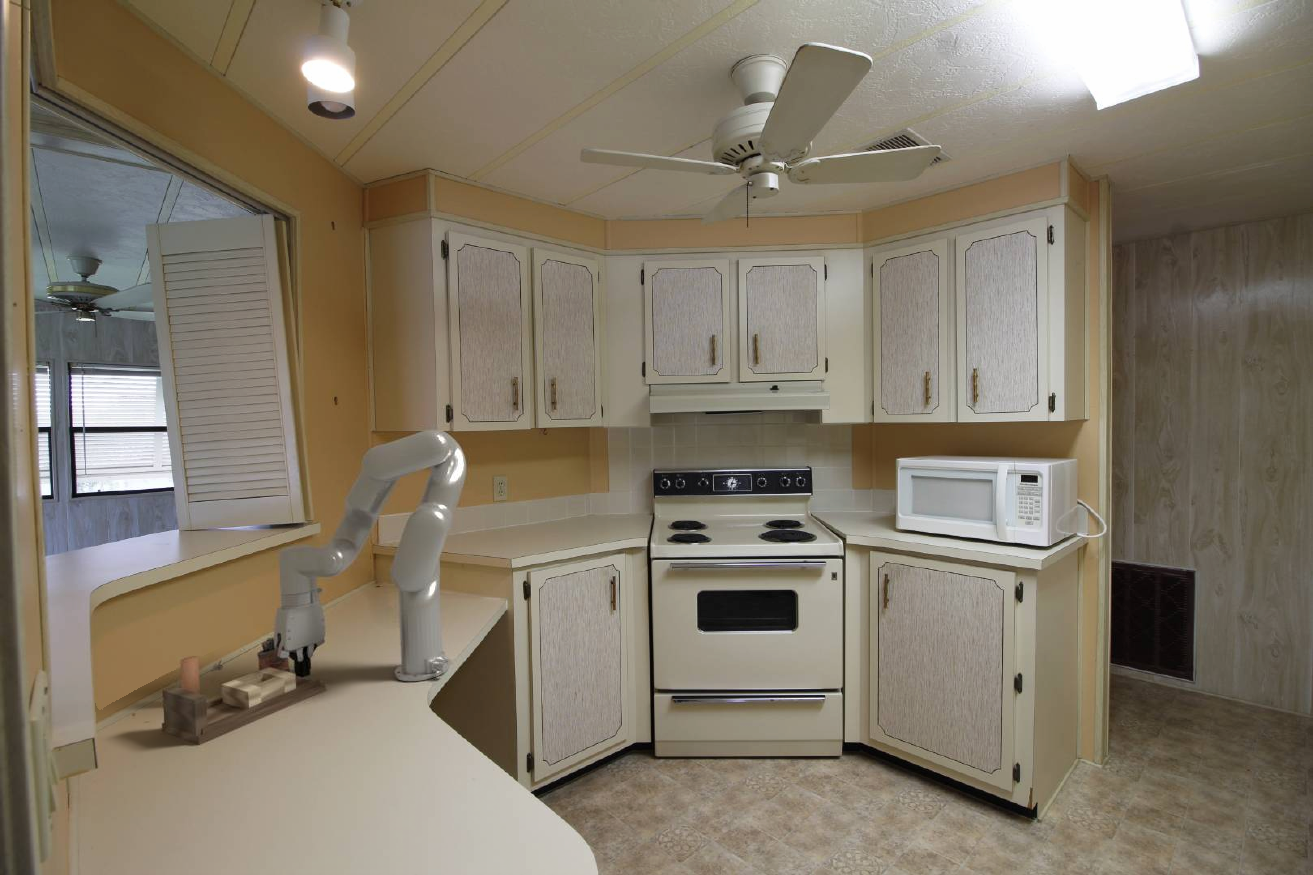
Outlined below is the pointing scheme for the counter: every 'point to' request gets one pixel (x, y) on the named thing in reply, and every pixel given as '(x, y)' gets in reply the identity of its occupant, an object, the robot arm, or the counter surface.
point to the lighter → (271, 657)
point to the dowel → (190, 674)
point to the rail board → (223, 711)
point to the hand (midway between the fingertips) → (303, 675)
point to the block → (257, 687)
